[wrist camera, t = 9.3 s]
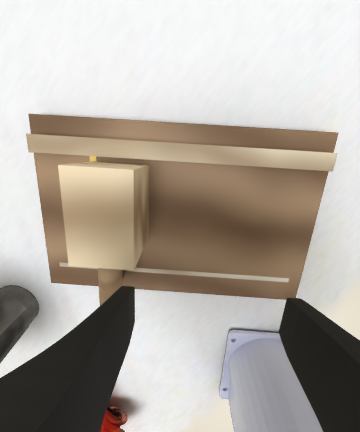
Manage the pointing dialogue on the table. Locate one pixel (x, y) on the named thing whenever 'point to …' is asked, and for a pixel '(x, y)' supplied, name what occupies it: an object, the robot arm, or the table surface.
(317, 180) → the walnut board
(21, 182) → the table surface
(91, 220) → the block
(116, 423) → the dragon fruit
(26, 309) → the beverage cup
